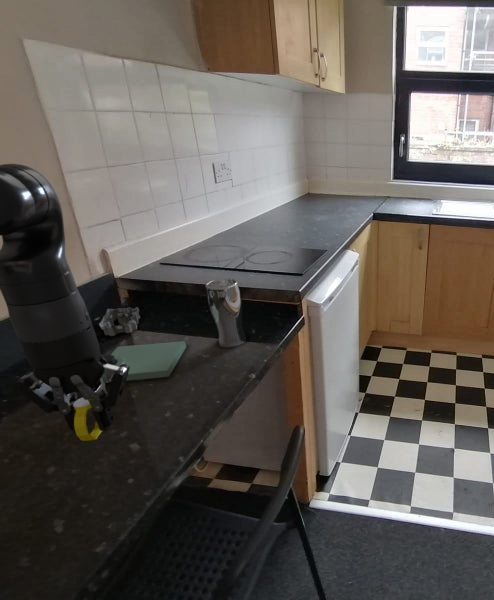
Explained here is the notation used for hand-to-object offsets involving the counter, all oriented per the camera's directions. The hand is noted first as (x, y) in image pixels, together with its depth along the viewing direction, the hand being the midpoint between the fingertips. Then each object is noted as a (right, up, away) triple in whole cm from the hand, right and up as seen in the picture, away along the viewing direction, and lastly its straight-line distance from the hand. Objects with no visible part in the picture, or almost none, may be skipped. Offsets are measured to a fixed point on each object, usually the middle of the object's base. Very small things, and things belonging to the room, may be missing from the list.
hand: (94, 427), depth 60 cm
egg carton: (-25, +12, +43) cm, 51 cm away
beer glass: (+6, +9, +36) cm, 37 cm away
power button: (-13, +6, +21) cm, 26 cm away
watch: (0, -1, +1) cm, 1 cm away
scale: (-10, +5, +27) cm, 29 cm away
